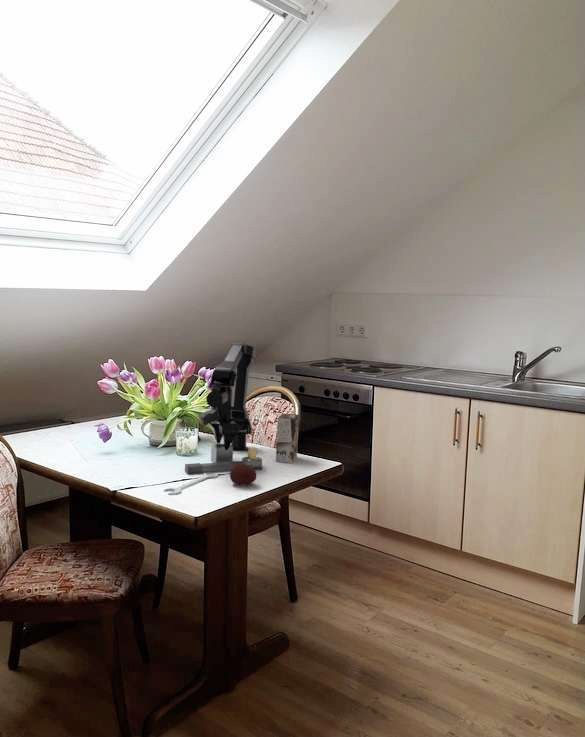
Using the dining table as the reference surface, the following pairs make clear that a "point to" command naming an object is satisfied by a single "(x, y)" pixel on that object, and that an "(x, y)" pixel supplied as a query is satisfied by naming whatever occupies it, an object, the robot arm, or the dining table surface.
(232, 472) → the potato
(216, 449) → the socket
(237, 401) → the robot arm
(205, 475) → the wrench
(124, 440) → the dining table surface
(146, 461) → the dining table surface
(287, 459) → the coffee box
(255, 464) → the ratchet
